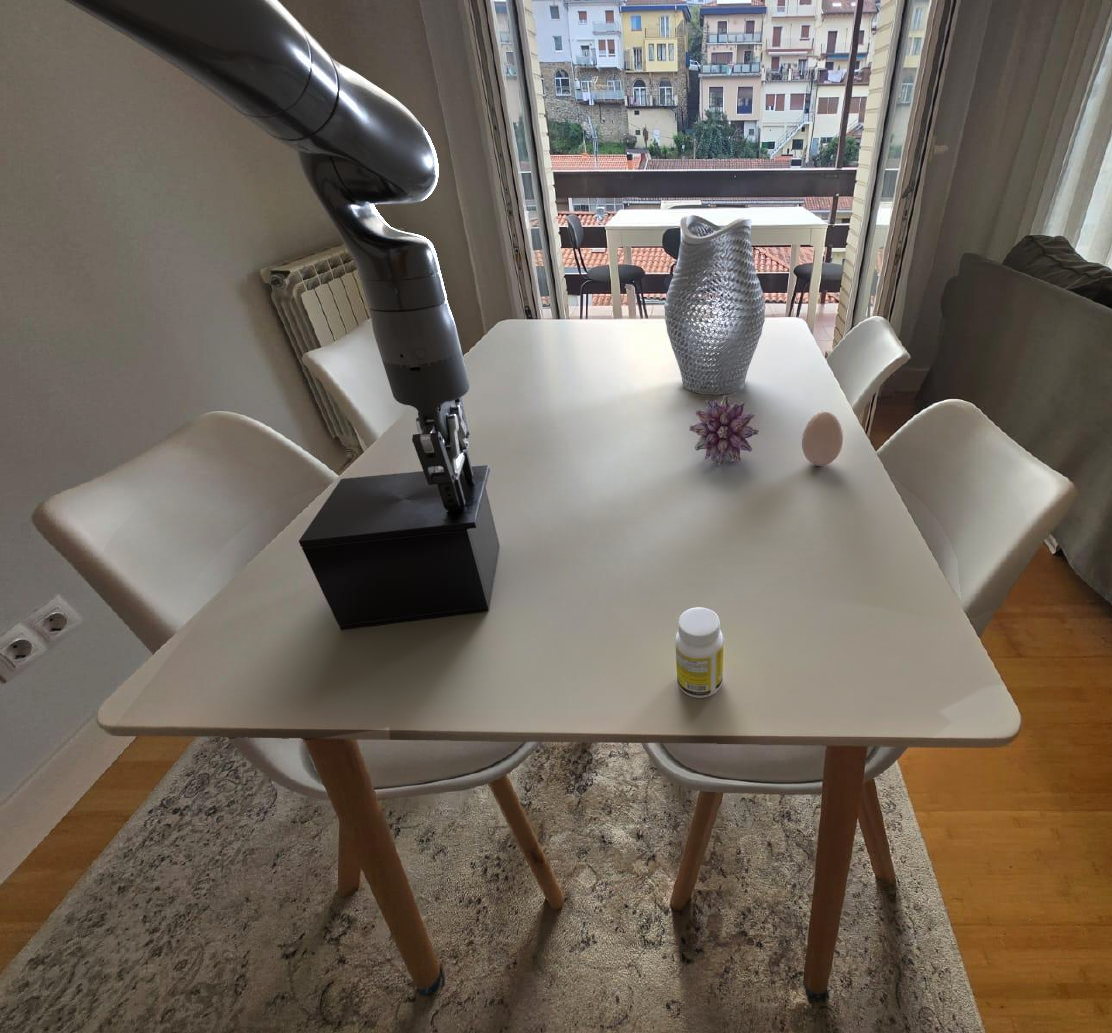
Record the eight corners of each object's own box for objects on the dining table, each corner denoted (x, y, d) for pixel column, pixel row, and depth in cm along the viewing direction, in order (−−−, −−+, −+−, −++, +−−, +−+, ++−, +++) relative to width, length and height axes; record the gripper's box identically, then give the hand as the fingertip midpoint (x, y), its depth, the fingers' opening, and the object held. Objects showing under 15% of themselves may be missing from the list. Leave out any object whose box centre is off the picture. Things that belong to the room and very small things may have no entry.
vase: (653, 395, 127) (645, 221, 108) (682, 365, 145) (680, 210, 126) (750, 405, 122) (759, 223, 103) (768, 372, 139) (779, 212, 120)
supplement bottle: (706, 657, 61) (706, 598, 56) (731, 685, 58) (734, 625, 53) (668, 675, 59) (665, 616, 54) (692, 707, 56) (691, 646, 51)
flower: (762, 475, 98) (704, 478, 92) (727, 446, 107) (672, 447, 101) (780, 412, 93) (719, 412, 87) (741, 387, 101) (684, 385, 96)
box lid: (490, 470, 72) (481, 433, 70) (476, 528, 61) (465, 487, 58) (343, 484, 70) (328, 446, 67) (301, 547, 59) (281, 505, 56)
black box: (499, 546, 79) (482, 471, 72) (489, 611, 68) (467, 530, 61) (373, 560, 76) (343, 484, 70) (340, 630, 65) (301, 547, 59)
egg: (844, 472, 96) (853, 418, 90) (805, 475, 95) (812, 421, 90) (831, 454, 101) (838, 403, 96) (794, 456, 101) (800, 405, 95)
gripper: (399, 333, 62) (438, 468, 71) (360, 375, 50) (412, 530, 59) (469, 329, 63) (499, 462, 72) (447, 369, 51) (486, 522, 61)
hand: (460, 492), depth 66 cm, fingers closed on box lid, 6 cm apart
